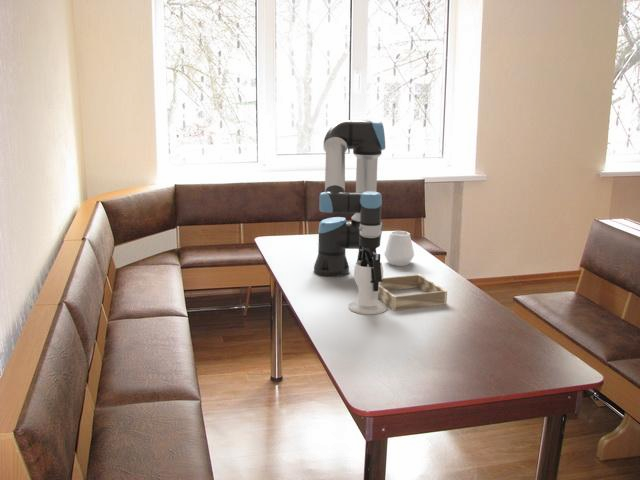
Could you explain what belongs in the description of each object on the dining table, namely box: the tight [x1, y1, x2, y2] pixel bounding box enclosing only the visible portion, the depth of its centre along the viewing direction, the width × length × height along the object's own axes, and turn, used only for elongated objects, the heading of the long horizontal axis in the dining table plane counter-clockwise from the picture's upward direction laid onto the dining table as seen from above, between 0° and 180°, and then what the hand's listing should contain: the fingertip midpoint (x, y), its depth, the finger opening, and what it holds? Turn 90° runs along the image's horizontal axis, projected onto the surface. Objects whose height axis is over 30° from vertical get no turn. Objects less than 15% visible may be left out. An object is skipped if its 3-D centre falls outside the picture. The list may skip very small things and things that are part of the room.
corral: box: [378, 274, 448, 311], centre depth 255 cm, size 22×22×5 cm
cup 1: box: [353, 261, 384, 306], centre depth 241 cm, size 11×11×15 cm
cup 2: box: [383, 230, 415, 267], centre depth 300 cm, size 13×13×14 cm
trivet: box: [348, 300, 388, 316], centre depth 244 cm, size 14×14×1 cm
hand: (367, 294), depth 242 cm, fingers closed on cup 1, 10 cm apart
